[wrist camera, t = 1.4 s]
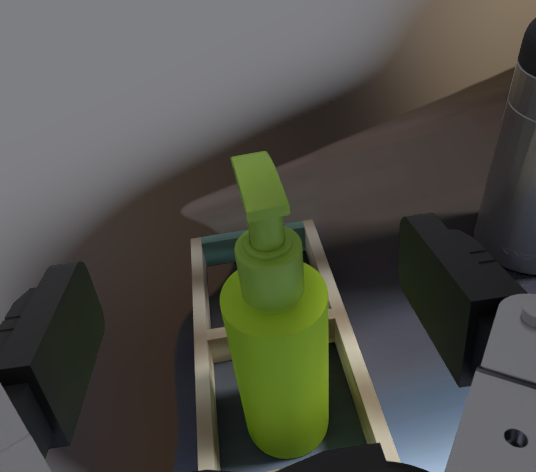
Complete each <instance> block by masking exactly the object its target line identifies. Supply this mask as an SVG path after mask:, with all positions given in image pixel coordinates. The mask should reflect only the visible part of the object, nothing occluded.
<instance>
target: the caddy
mask: <svg viewBox="0 0 536 472" xmlns="http://www.w3.org/2000/svg"><path fill="white" fill-rule="evenodd" d="M284 226H286V227H289V228H291V229H292V230H294V231H295V232H296V233H297V234H298V235H299V237H300V238H301V241H302V247H303V251H305V250H306V253H307V256H308V260H309V263H310V266H311V267H313V268H314V269H315V270H317V271H318V272H319V273H320V275H321V276H322V277H323V279H324V281H325V283H326V285H327V288H328V336H329V343H332V342H335V344H336V348H337V351H338V354H339V357H340V360H341V363H342V366H343V370H344V373H345V376H346V379H347V382H348V385H349V388H350V392H351V395H352V398H353V401H354V404H355V407H356V410H357V414H358V417H359V420H360V423H361V426H362V429H363V432H364V436H365V439H366V442H367V444H373V443H379V442H380V444H381V447H382V449H383V452H384V455H385V458H386V461H393V462H399V463H401V462H400V459H399V456H398V454H397V451H396V448H395V445H394V443H393V440H392V437H391V434H390V432H389V429H388V426H387V423H386V420H385V418H384V415H383V412H382V409H381V407H380V404H379V401H378V398H377V396H376V393H375V390H374V387H373V385H372V382H371V379H370V376H369V374H368V371H367V368H366V365H365V363H364V360H363V357H362V354H361V352H360V349H359V346H358V343H357V341H356V338H355V335H354V332H353V330H352V327H351V324H350V321H349V319H348V316H347V313H346V310H345V308H344V305H343V302H342V299H341V297H340V294H339V291H338V288H337V286H336V283H335V280H334V277H333V275H332V272H331V269H330V266H329V264H328V261H327V258H326V255H325V253H324V250H323V247H322V244H321V242H320V239H319V236H318V233H317V231H316V228H315V225H314V222H313V220H306V221H300V222H293V223H287V224H284ZM245 231H247V230H243V231H237V232H231V233H224V234H218V235H212V236H206V237H200V238H194V239H191V261H192V292H193V325H194V356H195V387H196V419H197V450H198V471H200V470H206V469H207V470H218V471H221V468H220V454H219V439H218V424H217V410H216V395H215V380H214V366H213V363H218V362H224V361H229V360H232V357H231V353H230V348H229V344H228V339H227V335H226V330H225V327H221V328H215V329H211V322H210V307H209V292H208V278H207V266H213V265H219V264H226V263H232V262H236V259H235V252H234V249H235V243H236V241H237V239H238V238H239V237H240V236H241V235H242V234H243V233H244V232H245ZM282 469H283V468H282ZM278 470H280V469H277V470H272V471H266V472H276V471H278Z"/></svg>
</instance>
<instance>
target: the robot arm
mask: <svg viewBox="0 0 536 472" xmlns="http://www.w3.org/2000/svg"><path fill="white" fill-rule="evenodd" d="M502 266H503V267H505V268H508V269H510V270H514V271H517V272H520V273H526V274H532V275H536V18H535V19H534V20H533V21H532V22H531V23H530V24H529V26H528V27H527V30H526V32H525V34H524V38H523V40H522V44H521V48H520V52H519V56H518V60H517V64H516V68H515V72H514V76H513V80H512V83H511V87H510V91H509V95H508V100H507V104H506V108H505V112H504V116H503V120H502V123H501V127H500V131H499V135H498V139H497V143H496V147H495V151H494V155H493V159H492V163H491V167H490V171H489V174H488V178H487V182H486V186H485V190H484V194H483V198H482V201H481V205H480V209H479V213H478V217H477V221H476V225H475V229H474V237H472V236H470V235H468V234H466V233H464V232H462V231H460V230H458V229H452V230H449V229H448V228H447V227H446V226H445V225H444V224H443V223H442V222H441V221H440V219H439V218H438V217H437V216H436V215H435V214H434V213H427V214H420V215H413V216H406V217H403V218H402V219H401V222H400V234H399V258H398V274H399V280H400V284H401V288H402V290H403V292H404V294H405V296H406V297H407V299H408V301H409V303H410V304H411V306H412V308H413V309H414V311H415V313H416V315H417V316H418V318H419V320H420V321H421V323H422V325H423V327H424V328H425V330H426V332H427V333H428V335H429V337H430V339H431V340H432V342H433V344H434V345H435V347H436V349H437V351H438V352H439V354H440V356H441V357H442V359H443V361H444V363H445V364H446V366H447V368H448V369H449V371H450V373H451V375H452V376H453V378H454V380H455V381H456V383H457V385H458V387H466V386H471V387H470V391H469V394H468V397H467V400H466V404H465V407H464V410H463V413H462V417H461V420H460V423H459V427H458V430H457V433H456V436H455V440H454V443H453V446H452V449H451V453H450V456H449V459H448V462H447V466H446V469H445V472H536V294H528V293H527V292H526V291H525V290H524V289H523V288H522V287H521V286H520V285H519V284H518V283H517V282H516V281H515V279H514V278H513V277H512V276H511V275H510V274H509V273H508V272H507V271H506V270H505V269H504V268H503V267H502ZM103 334H104V316H103V312H102V308H101V305H100V303H99V300H98V297H97V294H96V291H95V289H94V286H93V283H92V280H91V277H90V275H89V272H88V269H87V267H86V265H85V264H84V263H83V262H81V261H80V262H73V263H66V264H58V265H52V266H49V267H48V269H47V271H46V272H45V274H44V276H43V278H42V279H41V281H40V283H39V285H38V287H37V288H30V289H29V290H28V291H27V292H26V293H24V294H23V295H22V296H21V297H20V298H19V299H18V300H16V301H15V302H14V303H13V305H12V307H11V309H10V310H9V312H8V313H7V315H6V317H5V321H3V322H2V324H1V325H0V472H52V471H51V469H50V468H49V466H48V464H47V463H46V461H45V458H46V455H47V452H48V449H50V448H57V447H64V446H70V443H71V440H72V436H73V433H74V430H75V427H76V423H77V420H78V417H79V414H80V410H81V407H82V404H83V400H84V397H85V394H86V390H87V387H88V384H89V380H90V377H91V374H92V371H93V367H94V364H95V361H96V357H97V354H98V351H99V348H100V344H101V341H102V338H103ZM194 472H229V471H218V470H207V469H206V470H200V471H194ZM276 472H429V471H426V470H424V469H421V468H418V467H415V466H412V465H408V464H404V463H399V462H393V461H386V458H385V455H384V452H383V449H382V447H381V444H380V442H379V443H373V444H366V445H360V446H354V447H347V448H341V449H334V450H328V451H323V452H321V453H318V454H316V455H314V456H311V457H309V458H307V459H304V460H302V461H299V462H297V463H295V464H292V465H290V466H287V467H285V468H283V469H280V470H278V471H276Z"/></svg>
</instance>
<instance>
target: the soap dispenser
mask: <svg viewBox="0 0 536 472" xmlns="http://www.w3.org/2000/svg"><path fill="white" fill-rule="evenodd" d="M231 162H232V167H233V170H234V173H235V177H236V180H237V184H238V188H239V192H240V195H241V199H242V203H243V207H244V210H245V214H246V218H247V223H248V230H247V231H245V232H244V233H243V234H242V235H241V236H240V237H239V238H238V239H237V241H236V243H235V249H234V252H235V259H236V264H237V270H236V271H235V272H234V273H233V274H232V275H231V276H230V277H229V278H228V279H227V280H226V282H225V284H224V285H223V287H222V290H221V293H220V308H221V313H222V317H223V322H224V326H225V330H226V335H227V339H228V344H229V348H230V353H231V357H232V362H233V366H234V370H235V375H236V379H237V384H238V388H239V393H240V397H241V402H242V406H243V410H244V415H245V419H246V424H247V428H248V432H249V435H250V437H251V439H252V440H253V442H254V443H255V445H256V446H257V447H258V448H259V449H260V450H262V451H263V452H265V453H266V454H268V455H270V456H273V457H276V458H280V459H294V458H299V457H302V456H304V455H306V454H308V453H310V452H312V451H313V450H314V449H315V448H316V447H318V445H319V444H320V443H321V442H322V440H323V439H324V437H325V435H326V432H327V429H328V424H329V336H328V288H327V285H326V283H325V281H324V279H323V277H322V276H321V275H320V273H319V272H318V271H317V270H315V269H314V268H313V267H311V266H310V265H308V264H306V263H304V262H303V247H302V241H301V238H300V237H299V235H298V234H297V233H296V232H295V231H294V230H292V229H291V228H289V227H286V226H284V224H283V216H286V215H290V208H289V202H288V200H287V197H286V194H285V191H284V189H283V186H282V183H281V181H280V178H279V176H278V173H277V171H276V168H275V166H274V164H273V162H272V160H271V158H270V156H269V155H268V153H267V152H266V151H262V152H256V153H251V154H245V155H239V156H234V157H231Z"/></svg>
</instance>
